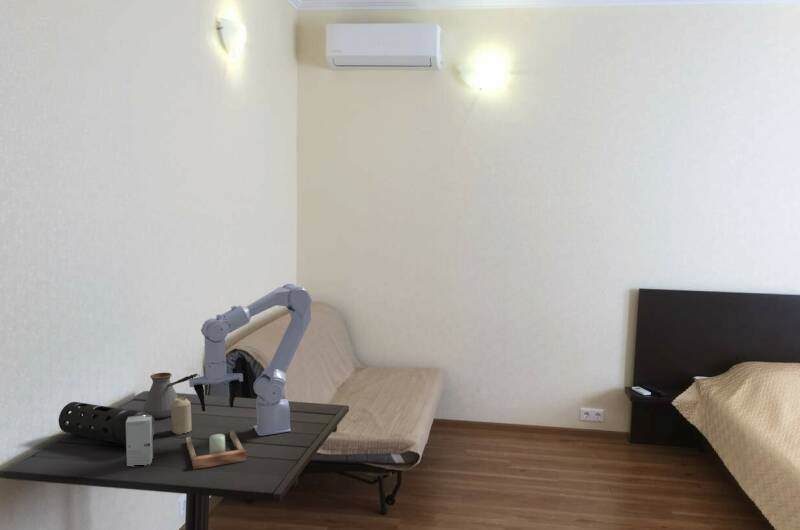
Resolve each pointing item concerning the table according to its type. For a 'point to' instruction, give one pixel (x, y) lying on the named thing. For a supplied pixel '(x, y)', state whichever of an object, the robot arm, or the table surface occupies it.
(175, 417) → the candle
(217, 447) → the pale green rounded cylinder
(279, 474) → the table surface
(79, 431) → the muzzle brake
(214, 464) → the channel
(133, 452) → the skincare box
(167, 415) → the coffee pot
